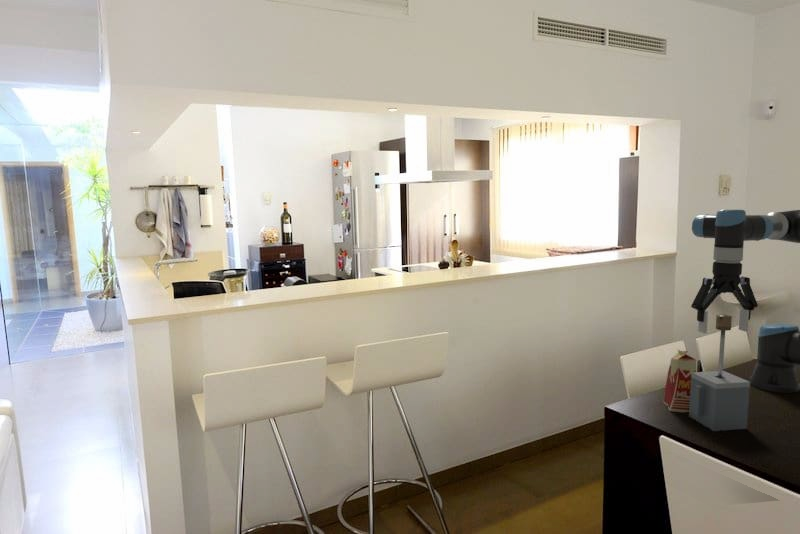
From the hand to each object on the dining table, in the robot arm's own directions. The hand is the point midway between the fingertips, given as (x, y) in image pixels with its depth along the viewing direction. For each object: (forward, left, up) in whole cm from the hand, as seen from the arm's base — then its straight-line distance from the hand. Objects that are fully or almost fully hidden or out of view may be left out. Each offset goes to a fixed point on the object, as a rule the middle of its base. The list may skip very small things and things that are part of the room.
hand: (722, 331), depth 166 cm
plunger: (0, 0, -19) cm, 19 cm away
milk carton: (+3, -13, -29) cm, 32 cm away
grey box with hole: (0, 0, -29) cm, 29 cm away
